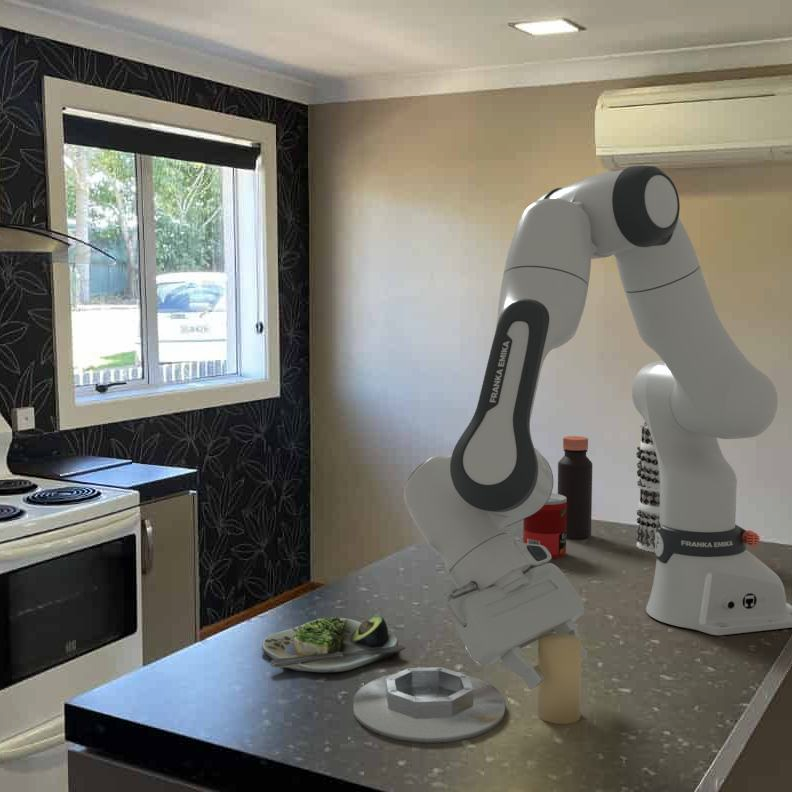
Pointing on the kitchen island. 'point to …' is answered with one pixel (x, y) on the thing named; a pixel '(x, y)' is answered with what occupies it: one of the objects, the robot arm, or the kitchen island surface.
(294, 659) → the salad plate
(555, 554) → the canned food
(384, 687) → the collar
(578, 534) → the bottle
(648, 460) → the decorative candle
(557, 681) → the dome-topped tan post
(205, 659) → the kitchen island surface
